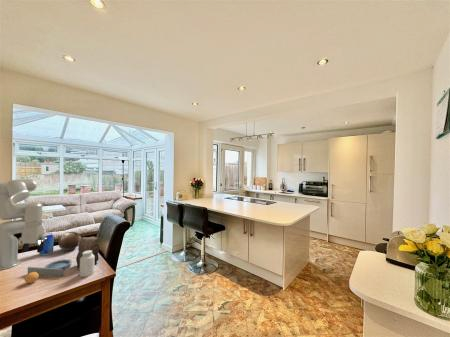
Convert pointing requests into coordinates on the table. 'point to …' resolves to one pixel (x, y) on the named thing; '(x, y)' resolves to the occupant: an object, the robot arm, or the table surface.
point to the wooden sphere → (69, 241)
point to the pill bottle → (87, 264)
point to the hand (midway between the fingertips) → (33, 251)
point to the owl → (88, 248)
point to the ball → (31, 277)
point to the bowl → (60, 264)
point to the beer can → (48, 244)
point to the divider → (46, 271)
